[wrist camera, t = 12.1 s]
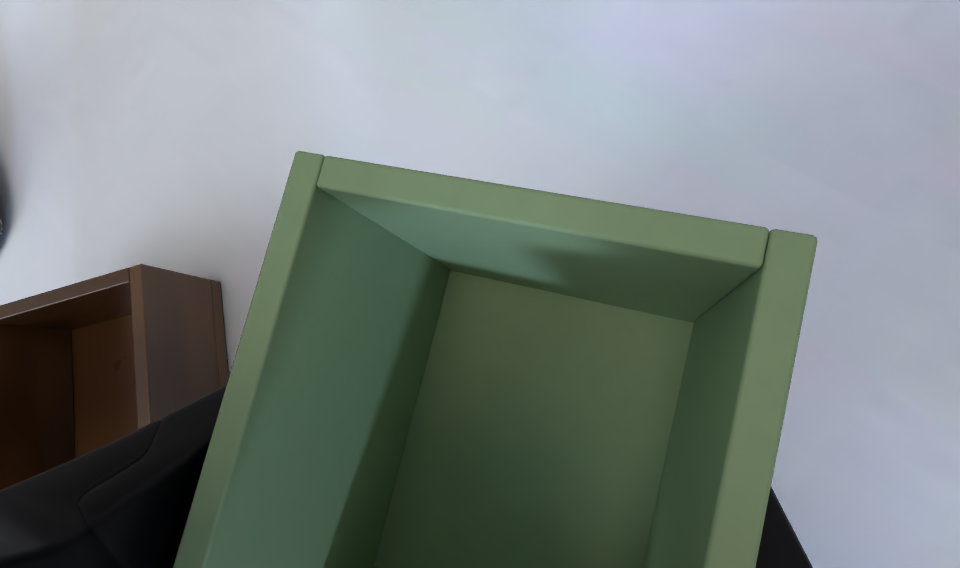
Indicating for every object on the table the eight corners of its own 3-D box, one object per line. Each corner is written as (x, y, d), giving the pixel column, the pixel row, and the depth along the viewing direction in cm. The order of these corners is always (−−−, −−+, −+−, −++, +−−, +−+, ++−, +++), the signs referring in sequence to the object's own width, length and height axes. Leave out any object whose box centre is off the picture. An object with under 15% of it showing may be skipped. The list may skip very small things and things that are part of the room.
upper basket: (640, 685, 12) (660, 1080, 5) (360, 570, 14) (117, 750, 7) (717, 309, 13) (819, 234, 6) (444, 252, 15) (294, 148, 8)
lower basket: (242, 519, 19) (158, 551, 15) (80, 545, 20) (-29, 579, 17) (220, 281, 20) (141, 263, 17) (73, 322, 22) (-26, 312, 19)
